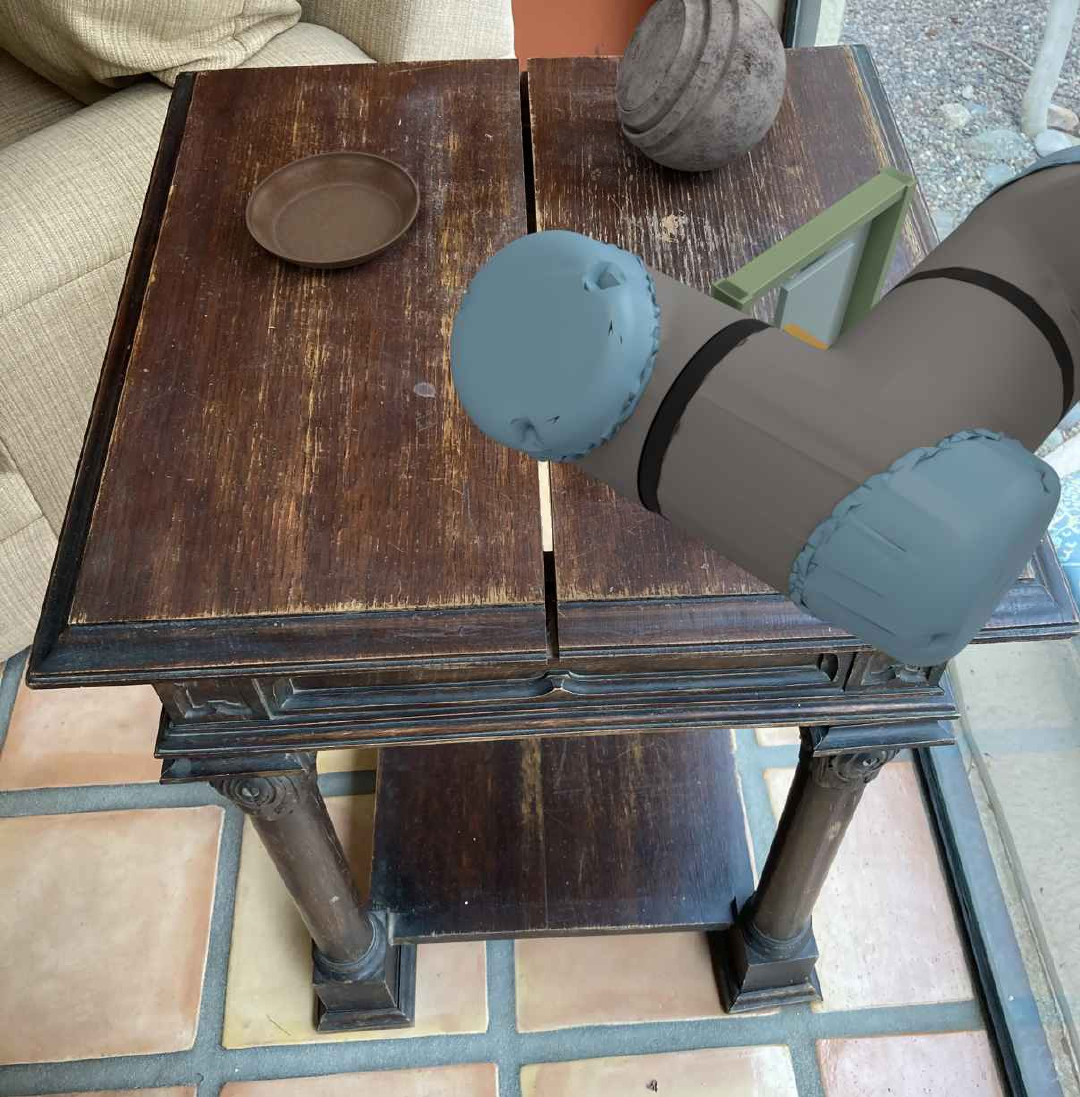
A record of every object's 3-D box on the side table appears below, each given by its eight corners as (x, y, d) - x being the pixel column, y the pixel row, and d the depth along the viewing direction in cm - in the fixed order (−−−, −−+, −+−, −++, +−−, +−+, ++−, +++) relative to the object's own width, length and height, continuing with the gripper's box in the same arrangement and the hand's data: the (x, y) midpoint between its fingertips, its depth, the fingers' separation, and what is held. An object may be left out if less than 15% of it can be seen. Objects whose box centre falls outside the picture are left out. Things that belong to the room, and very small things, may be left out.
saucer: (295, 309, 85) (287, 283, 83) (226, 213, 93) (218, 187, 91) (453, 245, 90) (450, 218, 88) (376, 158, 97) (371, 132, 95)
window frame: (877, 377, 80) (941, 192, 67) (728, 497, 74) (766, 319, 60) (815, 337, 83) (865, 151, 69) (666, 449, 76) (689, 269, 63)
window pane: (928, 457, 73) (988, 321, 63) (869, 509, 70) (922, 375, 60) (809, 378, 78) (847, 238, 67) (750, 423, 75) (780, 286, 65)
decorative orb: (601, 116, 100) (607, -47, 88) (749, 104, 101) (776, -59, 89) (627, 212, 92) (637, 47, 80) (788, 198, 93) (823, 32, 81)
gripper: (565, 392, 51) (743, 441, 71) (774, 553, 45) (903, 556, 65) (649, 254, 48) (808, 344, 68) (880, 405, 43) (980, 455, 63)
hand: (854, 447), depth 67 cm, fingers closed
